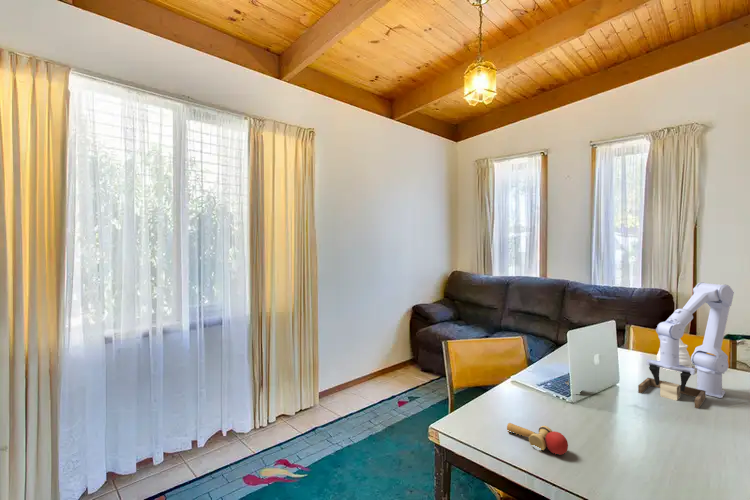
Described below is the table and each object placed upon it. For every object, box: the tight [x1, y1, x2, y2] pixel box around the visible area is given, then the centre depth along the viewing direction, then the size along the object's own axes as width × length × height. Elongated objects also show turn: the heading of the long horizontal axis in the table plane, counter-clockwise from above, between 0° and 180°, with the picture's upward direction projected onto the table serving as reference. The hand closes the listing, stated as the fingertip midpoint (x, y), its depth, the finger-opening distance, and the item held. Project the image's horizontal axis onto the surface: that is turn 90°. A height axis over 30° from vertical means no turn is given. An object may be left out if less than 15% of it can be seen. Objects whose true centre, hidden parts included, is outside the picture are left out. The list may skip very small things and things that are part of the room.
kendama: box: [506, 422, 569, 456], centre depth 105 cm, size 8×6×18 cm
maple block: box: [659, 380, 681, 401], centre depth 136 cm, size 5×5×5 cm
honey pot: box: [656, 338, 693, 373], centre depth 166 cm, size 13×13×18 cm
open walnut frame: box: [637, 377, 707, 409], centre depth 137 cm, size 13×18×3 cm
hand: (669, 387), depth 136 cm, fingers open, 7 cm apart
